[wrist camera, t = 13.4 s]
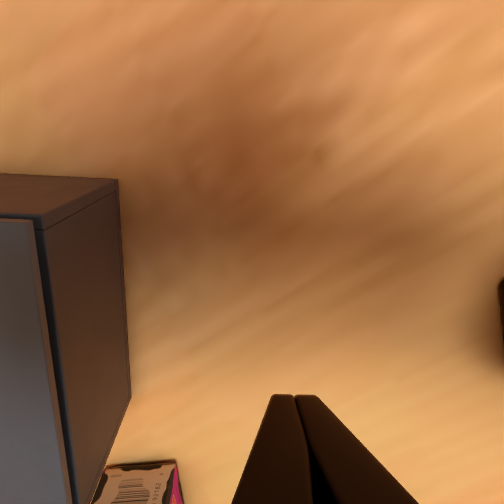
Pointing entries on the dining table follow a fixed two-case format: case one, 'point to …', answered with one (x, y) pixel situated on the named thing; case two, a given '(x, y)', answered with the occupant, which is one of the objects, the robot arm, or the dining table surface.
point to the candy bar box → (139, 485)
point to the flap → (27, 379)
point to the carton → (80, 309)
